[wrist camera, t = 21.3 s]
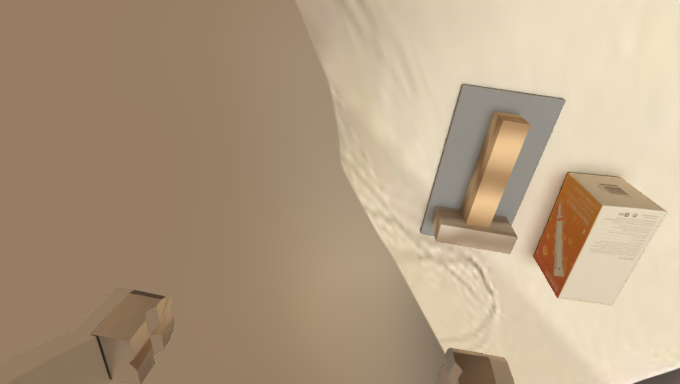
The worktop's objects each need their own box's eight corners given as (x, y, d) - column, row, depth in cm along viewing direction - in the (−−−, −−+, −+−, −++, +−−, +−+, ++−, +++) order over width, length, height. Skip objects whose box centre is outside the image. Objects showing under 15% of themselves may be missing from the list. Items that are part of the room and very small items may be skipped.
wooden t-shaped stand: (466, 106, 39) (475, 118, 35) (547, 119, 39) (565, 132, 35) (431, 221, 47) (435, 241, 43) (499, 232, 46) (510, 254, 42)
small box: (602, 204, 35) (557, 300, 41) (670, 211, 34) (614, 307, 41) (565, 171, 42) (532, 257, 48) (621, 176, 41) (580, 262, 48)
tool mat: (462, 83, 39) (463, 85, 38) (563, 98, 38) (565, 100, 38) (420, 231, 48) (420, 233, 48) (500, 244, 48) (501, 247, 47)
